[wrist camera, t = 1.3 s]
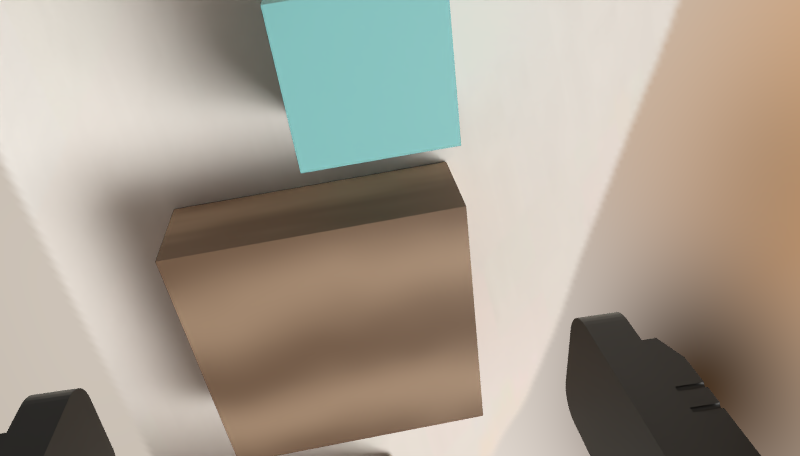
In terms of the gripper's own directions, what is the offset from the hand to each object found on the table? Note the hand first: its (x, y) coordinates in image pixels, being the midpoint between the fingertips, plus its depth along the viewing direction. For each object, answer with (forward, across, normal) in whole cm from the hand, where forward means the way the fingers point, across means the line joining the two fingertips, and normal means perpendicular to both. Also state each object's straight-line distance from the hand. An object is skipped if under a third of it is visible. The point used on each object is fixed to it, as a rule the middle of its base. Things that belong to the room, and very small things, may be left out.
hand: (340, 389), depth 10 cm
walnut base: (+17, 0, +10) cm, 20 cm away
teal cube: (+17, -2, -2) cm, 17 cm away
